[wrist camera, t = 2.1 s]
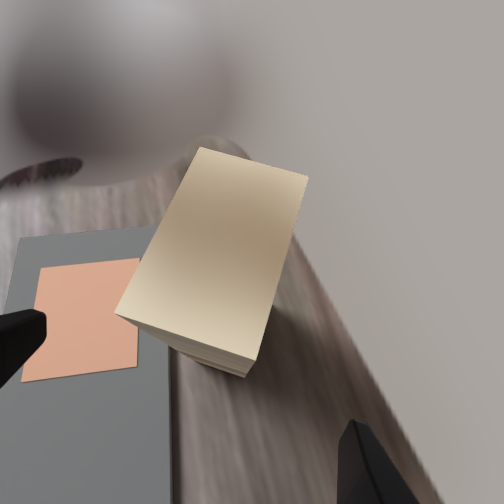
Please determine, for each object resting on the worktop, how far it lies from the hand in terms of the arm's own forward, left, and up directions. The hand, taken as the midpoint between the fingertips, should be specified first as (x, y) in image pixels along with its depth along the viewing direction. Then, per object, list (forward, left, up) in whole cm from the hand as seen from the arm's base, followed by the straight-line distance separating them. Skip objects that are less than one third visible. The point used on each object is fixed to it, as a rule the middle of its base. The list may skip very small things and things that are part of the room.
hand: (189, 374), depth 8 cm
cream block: (+3, -1, -10) cm, 11 cm away
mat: (0, +8, -10) cm, 13 cm away
